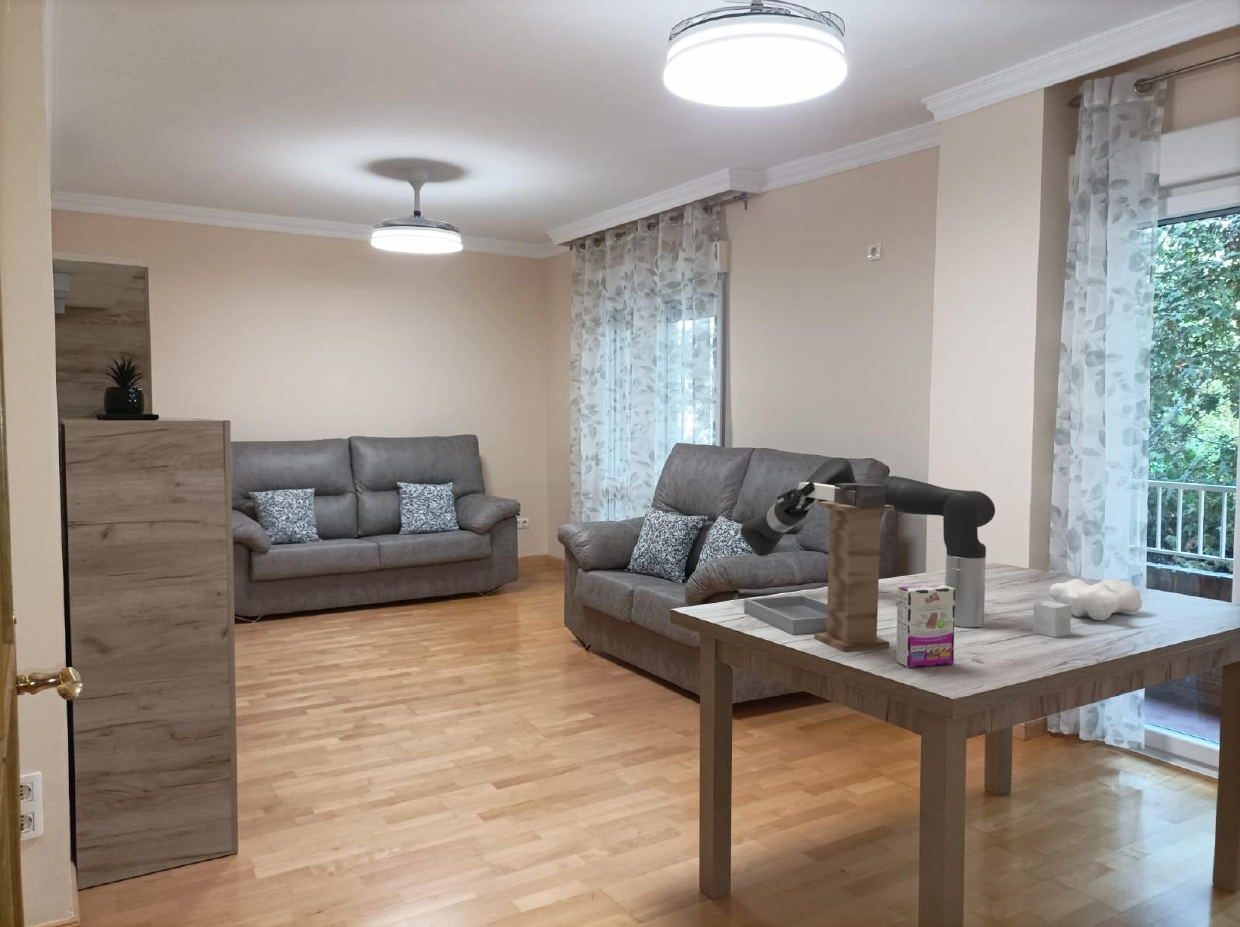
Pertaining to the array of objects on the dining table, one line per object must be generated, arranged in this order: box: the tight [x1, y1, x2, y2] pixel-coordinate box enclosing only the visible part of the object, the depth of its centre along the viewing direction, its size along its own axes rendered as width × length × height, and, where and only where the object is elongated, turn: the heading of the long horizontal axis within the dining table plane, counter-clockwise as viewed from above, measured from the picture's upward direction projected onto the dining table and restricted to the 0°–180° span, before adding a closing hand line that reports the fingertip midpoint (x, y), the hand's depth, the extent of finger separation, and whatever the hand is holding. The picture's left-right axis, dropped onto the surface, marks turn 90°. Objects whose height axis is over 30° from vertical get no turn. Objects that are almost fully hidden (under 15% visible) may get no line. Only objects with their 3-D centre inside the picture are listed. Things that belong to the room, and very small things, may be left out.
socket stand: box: [813, 482, 895, 653], centre depth 209 cm, size 13×12×37 cm
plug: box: [798, 481, 855, 501], centre depth 219 cm, size 19×3×3 cm, turn 21°
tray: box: [743, 594, 827, 636], centre depth 231 cm, size 24×18×4 cm
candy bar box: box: [895, 584, 955, 669], centre depth 194 cm, size 11×5×16 cm, turn 105°
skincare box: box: [1032, 600, 1072, 638], centre depth 221 cm, size 6×6×7 cm
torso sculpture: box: [1049, 578, 1143, 621], centre depth 239 cm, size 18×10×25 cm
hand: (819, 485), depth 221 cm, fingers closed on plug, 3 cm apart
